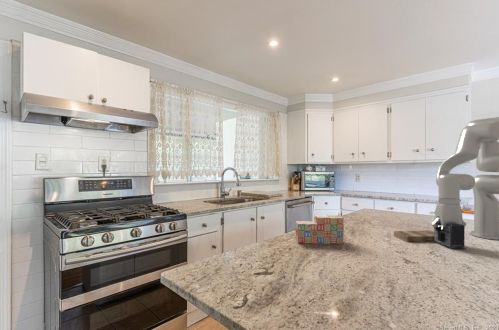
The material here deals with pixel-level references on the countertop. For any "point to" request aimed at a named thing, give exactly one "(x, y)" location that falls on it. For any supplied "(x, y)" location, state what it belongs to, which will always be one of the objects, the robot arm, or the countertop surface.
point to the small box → (452, 236)
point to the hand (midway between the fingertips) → (448, 240)
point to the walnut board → (415, 236)
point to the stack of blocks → (320, 230)
